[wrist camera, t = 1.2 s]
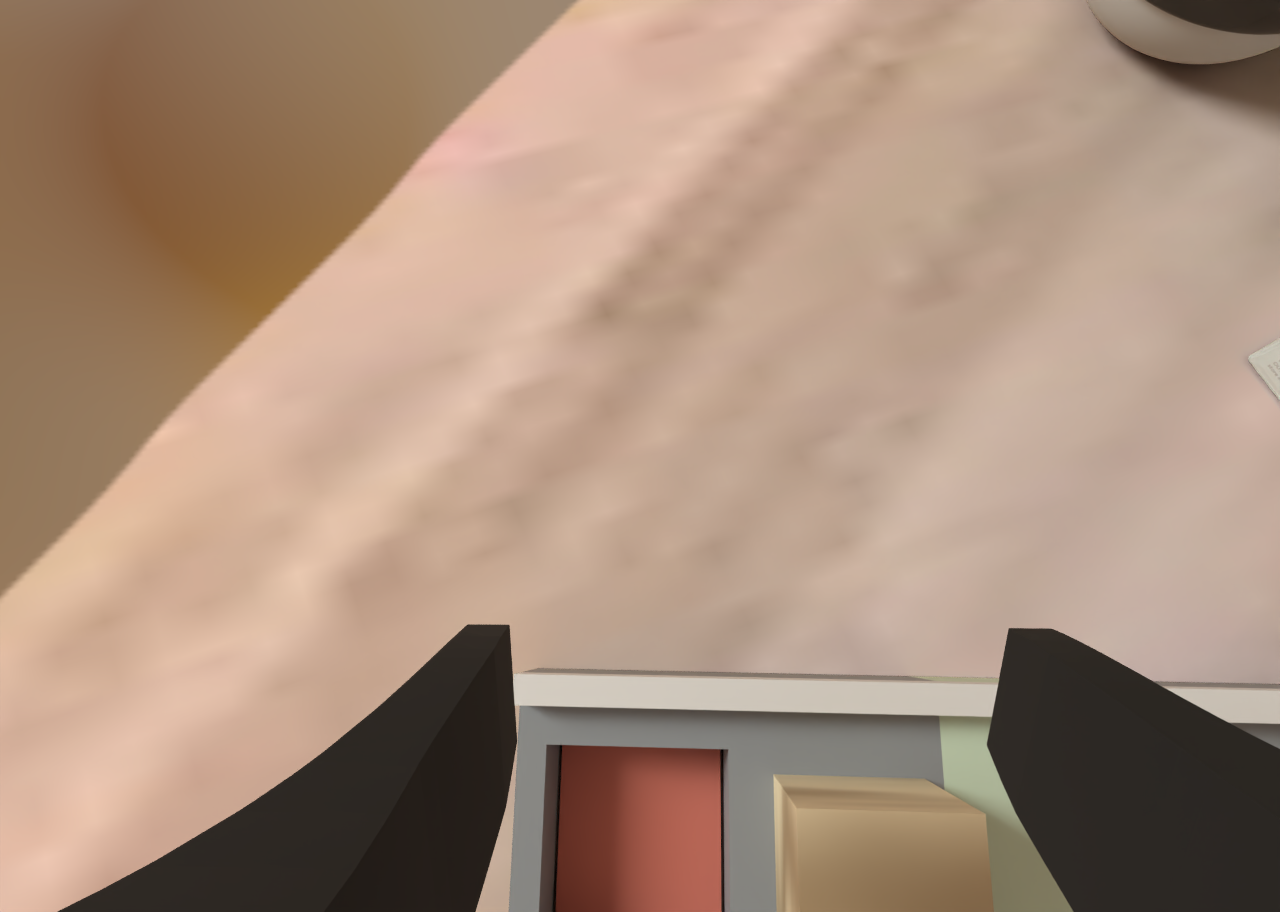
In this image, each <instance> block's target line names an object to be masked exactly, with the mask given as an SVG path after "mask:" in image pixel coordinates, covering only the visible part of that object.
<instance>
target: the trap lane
mask: <svg viewBox="0 0 1280 912" xmlns="http://www.w3.org/2000/svg"><path fill="white" fill-rule="evenodd" d="M998 682H999V678H965V677H918V676H872V675H825V674H778V673H731V672H685V671H638V670H591V669H544V668H537V669H533V670H529V671H525V672H521V673H516V674H514V683H513V687H514V703H515V705H520V713H519V731H518V750H517V768H516V787H515V805H514V824H513V842H512V861H511V879H510V898H509V912H553V904H554V880H555V855H556V831H557V807H558V783H559V758H560V745H562V765H561V790H560V815H559V839H558V864H557V889H556V912H721V791H720V749H723V794H724V912H777V907H776V864H775V820H774V777H773V774H779V775H814V776H849V777H884V778H919V779H926V780H928V781H929V782H931V783H933V784H935V785H936V786H938V787H940V788H942V789H943V790H945V791H947V792H948V793H950V794H952V795H954V796H955V797H957V798H959V799H960V800H962V801H964V802H966V803H967V804H969V805H971V806H972V807H974V808H976V809H978V810H979V811H981V812H983V813H984V814H986V825H987V837H988V849H989V861H990V872H991V884H992V896H993V907H994V912H1073V910H1072V908H1071V907H1070V905H1069V903H1068V902H1067V900H1066V898H1065V897H1064V895H1063V893H1062V892H1061V890H1060V888H1059V887H1058V885H1057V883H1056V882H1055V880H1054V878H1053V877H1052V875H1051V873H1050V871H1049V870H1048V868H1047V866H1046V865H1045V863H1044V861H1043V860H1042V858H1041V856H1040V854H1039V853H1038V851H1037V849H1036V848H1035V846H1034V844H1033V842H1032V841H1031V839H1030V837H1029V836H1028V834H1027V832H1026V830H1025V829H1024V827H1023V825H1022V823H1021V822H1020V820H1019V818H1018V816H1017V815H1016V813H1015V811H1014V808H1013V806H1012V804H1011V802H1010V800H1009V797H1008V795H1007V793H1006V791H1005V788H1004V786H1003V784H1002V782H1001V779H1000V777H999V774H998V772H997V769H996V767H995V765H994V762H993V760H992V757H991V755H990V752H989V750H988V747H987V740H988V735H989V729H990V724H991V719H992V714H993V709H994V703H995V698H996V693H997V688H998ZM1155 683H1157V684H1159V685H1160V686H1162V687H1164V688H1166V689H1168V690H1169V691H1171V692H1173V693H1175V694H1177V695H1178V696H1180V697H1182V698H1184V699H1186V700H1188V701H1189V702H1191V703H1193V704H1195V705H1197V706H1199V707H1200V708H1202V709H1204V710H1206V711H1208V712H1210V713H1212V714H1213V715H1215V716H1217V717H1219V718H1221V719H1223V720H1225V721H1226V722H1228V723H1230V724H1232V725H1234V726H1236V727H1238V728H1240V729H1242V730H1244V731H1245V732H1247V733H1249V734H1251V735H1253V736H1255V737H1257V738H1259V739H1261V740H1263V741H1265V742H1267V743H1269V744H1271V745H1273V746H1275V747H1277V748H1279V749H1280V684H1246V683H1199V682H1155Z"/></svg>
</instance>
